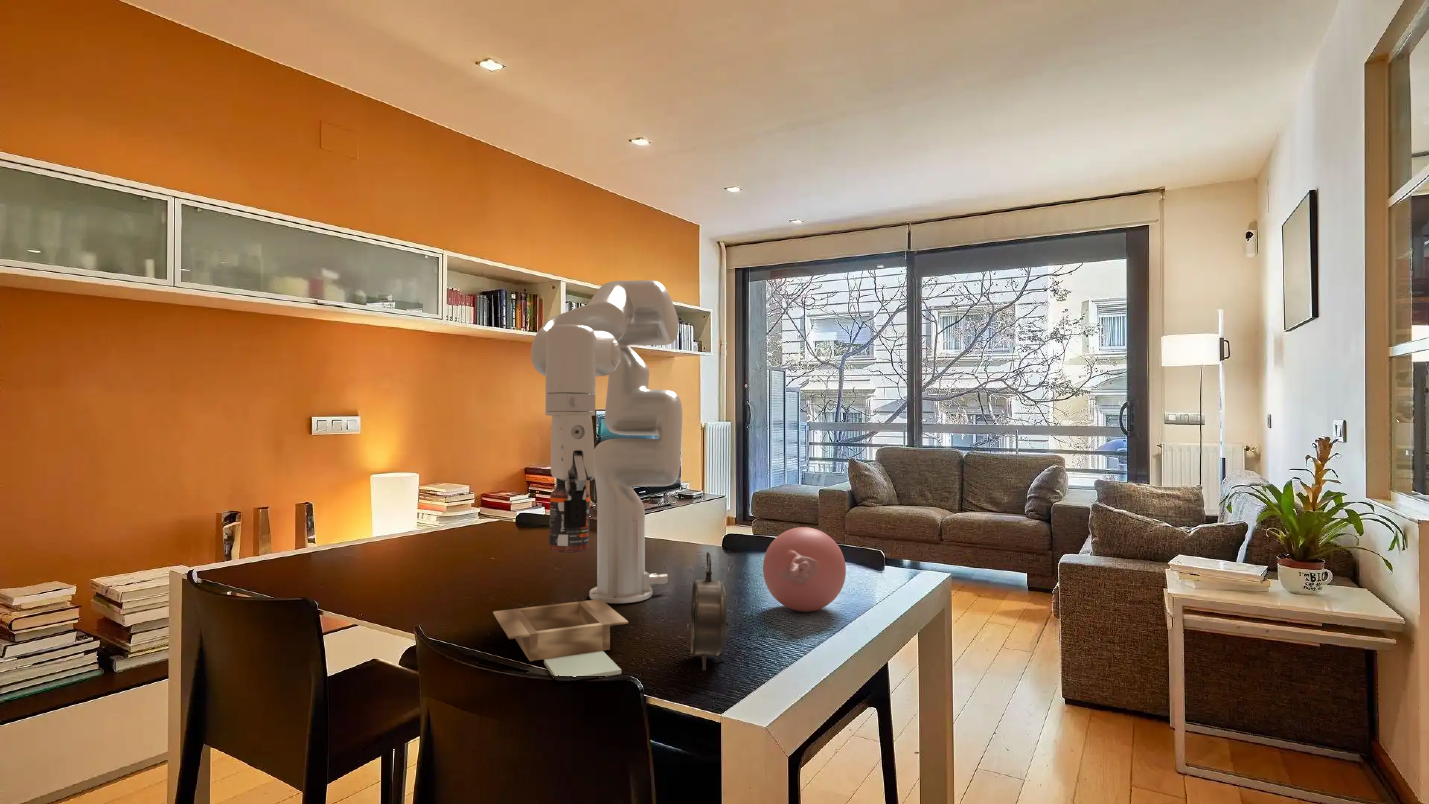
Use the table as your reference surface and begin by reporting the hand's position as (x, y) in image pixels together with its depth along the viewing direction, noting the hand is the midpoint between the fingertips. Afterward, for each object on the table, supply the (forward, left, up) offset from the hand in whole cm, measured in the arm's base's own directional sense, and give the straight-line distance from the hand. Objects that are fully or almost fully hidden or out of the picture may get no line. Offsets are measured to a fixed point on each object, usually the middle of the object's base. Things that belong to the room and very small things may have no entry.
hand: (569, 523), depth 112 cm
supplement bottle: (0, 0, -4) cm, 4 cm away
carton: (0, -8, -20) cm, 22 cm away
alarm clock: (-18, +11, -20) cm, 30 cm away
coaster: (0, +6, -20) cm, 21 cm away
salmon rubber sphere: (-44, -5, -20) cm, 49 cm away
